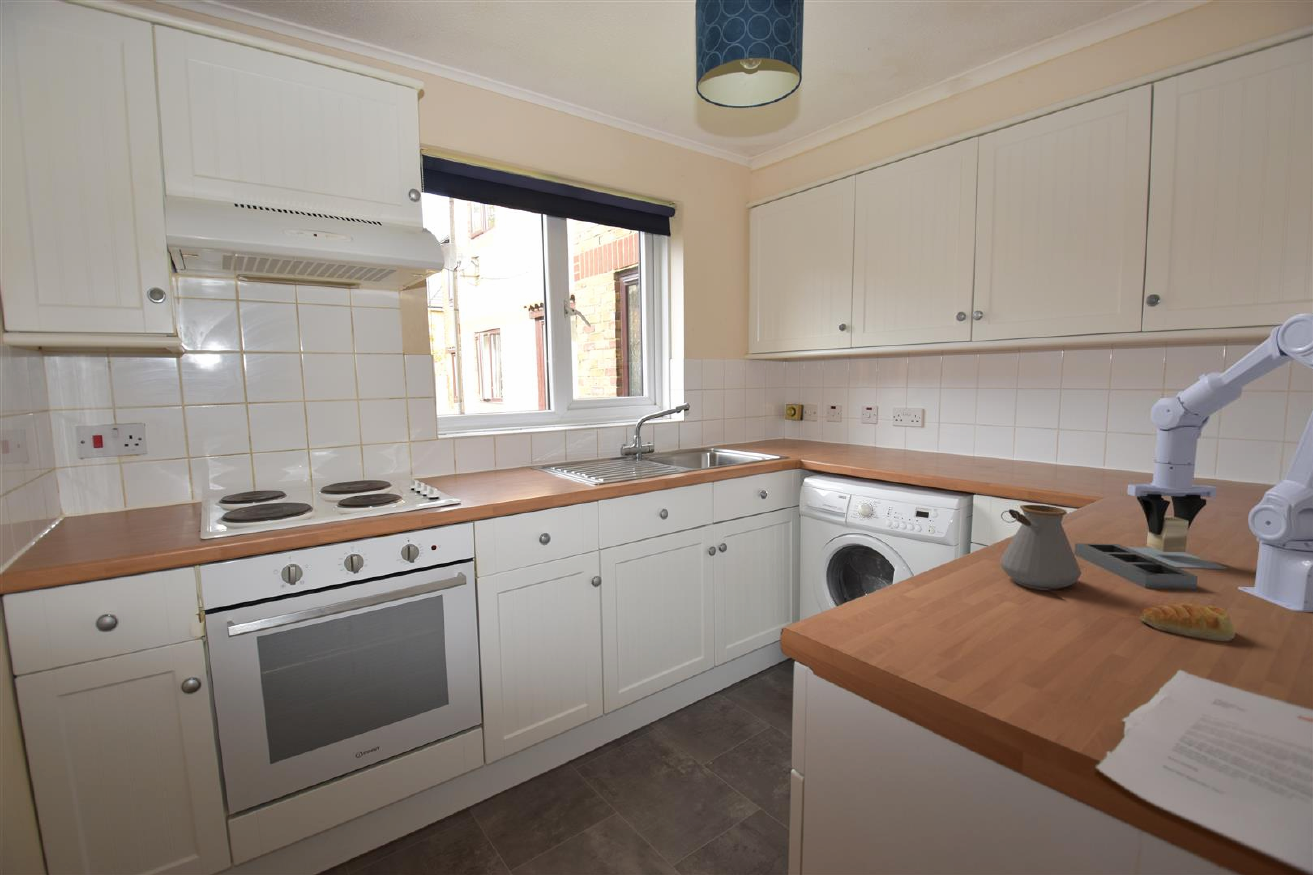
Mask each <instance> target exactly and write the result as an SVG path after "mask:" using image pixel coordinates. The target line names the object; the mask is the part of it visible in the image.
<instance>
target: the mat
mask: <svg viewBox="0 0 1313 875" xmlns="http://www.w3.org/2000/svg"><path fill="white" fill-rule="evenodd" d="M1126 547H1127V548H1129V549H1132V550H1134V551H1137V552H1139V553H1142V554H1144V555H1147V556H1149V557H1152V558H1154V559H1157V560H1159V561H1162V562H1164V563H1167V564H1169V565H1172V566H1174V567H1177V568H1179V569H1202V570H1203V569H1205V570H1206V569H1207V570H1209V569H1211V570H1215V569H1217V570H1228V569H1227V568H1228V567H1226V566H1223V565H1221V564H1218V563H1215V562H1213V561H1210V560H1207V559H1204V558H1202V557H1199V556H1196V555H1193V554H1191V553H1188V552H1162V551H1159V550H1157V549H1154V548H1151V547H1147V546H1145V547H1137V546H1136V547H1135V546H1134V547H1133V546H1131V547H1130V546H1126Z"/></svg>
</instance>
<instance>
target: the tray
mask: <svg viewBox="0 0 1313 875" xmlns="http://www.w3.org/2000/svg"><path fill="white" fill-rule="evenodd" d="M1127 547H1128V546H1124V545H1121V544H1119V543H1084V542H1083V543H1082V542H1081V543H1080V542H1079V543H1077V542H1075V543H1074V552H1073V554H1074V556H1075V557H1078V558H1080V559H1082V560H1085V561H1087V562H1089V563H1091V564H1094V565H1096V566H1098V567H1099V568H1102V569H1103V570H1106V571H1108V572H1110V573H1112V574H1114V575H1116V576H1118V577H1120V578H1122V579H1124V580H1127V581H1129V582H1131V583H1133V584H1135V585H1138V586H1140V587H1141V588H1144V589H1163V590H1164V589H1165V590H1166V589H1167V590H1170V589H1171V590H1197V588H1198V586H1197V585H1198V575H1196V574H1193V573H1192V572H1189V571H1186V570H1184V569H1182V568H1177V567H1174V566H1172V565H1169V564H1167V563H1164V562H1162V561H1159V560H1157V559H1154V558H1152V557H1149V556H1147V555H1144V554H1142V553H1139V552H1137V551H1134V550H1132V549H1129V548H1127Z"/></svg>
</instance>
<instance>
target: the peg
mask: <svg viewBox="0 0 1313 875" xmlns="http://www.w3.org/2000/svg"><path fill="white" fill-rule="evenodd" d="M1188 523H1189V521H1187V520H1184V519H1180V518H1177V517H1174V515H1165V517H1164V522H1163V528H1162V532H1161V535H1156V534H1153V533H1151V532H1149V528H1148V527H1147V538H1146V539H1147V540H1146V547H1148V548H1154V549H1157V550H1159V551H1162V552H1185V553H1187V552H1186V550H1187V540H1188V531H1189V529H1188Z"/></svg>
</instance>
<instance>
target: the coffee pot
mask: <svg viewBox="0 0 1313 875" xmlns="http://www.w3.org/2000/svg"><path fill="white" fill-rule="evenodd" d="M1019 508H1020V510H1022V512H1023V514H1022V513H1020V511H1018V510H1014V509H1009V510H1004V511H1003V512H1002V513H1001V514H1000V517H1001V519H1002V521H1004V522H1006V523H1014V522H1018V523H1020V524H1021V525H1020V526H1019V528H1018V530H1017V531H1016V533H1015V535H1014V536H1013V538H1012V539H1011V541H1010V543H1009V545H1008V546H1007V548H1006V550H1005V551H1004V553H1003V554H1002V556H1001V558H1000V560H999V561H1000V565H1001V568H1002V570H1003V571H1004V572H1005V574H1006V575H1008V576H1009V577H1010V578H1011V580H1012V581H1013V582H1014V583H1016V584H1018V585H1020V586H1023V587H1026V588H1030V589H1034V590H1039V591H1046V592H1047V591H1048V592H1049V591H1050V592H1052V590H1059V589H1064V588H1066V587H1069V586H1071V585H1074V584H1076V583H1077V582H1078V580H1079V579H1080V577H1081V575H1082V571H1081V568H1080V566H1079V563H1078V561H1077V558H1076V555H1074V552H1073V549H1072V546H1071V543H1070V542H1069V540H1068V537H1067V535H1066V532H1065V530H1064V526H1063V524H1062V522H1063V518H1064V516H1065V515H1067V514H1068V511H1067V510H1066V509H1063V508H1059V507H1056V506H1050V505H1043V504H1041V505H1040V504H1022V505H1020V506H1019ZM1004 513H1009V515H1010V517H1011V518H1012V519H1014V520H1012V521H1008V520H1005V518H1003V515H1004Z"/></svg>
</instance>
